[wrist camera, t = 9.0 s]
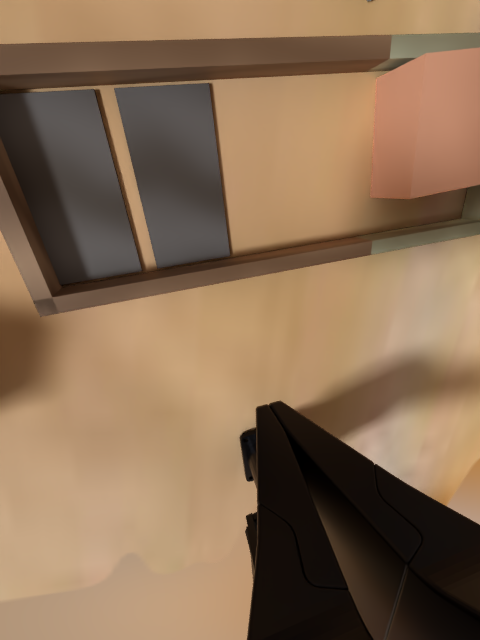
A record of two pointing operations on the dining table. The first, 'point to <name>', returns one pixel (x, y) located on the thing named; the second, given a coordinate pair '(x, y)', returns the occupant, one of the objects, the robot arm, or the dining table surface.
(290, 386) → the dining table surface
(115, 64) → the channel
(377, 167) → the block
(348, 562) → the robot arm
